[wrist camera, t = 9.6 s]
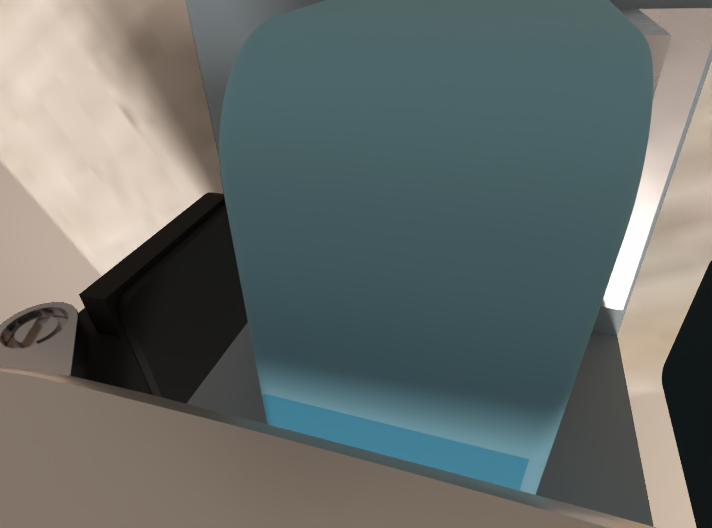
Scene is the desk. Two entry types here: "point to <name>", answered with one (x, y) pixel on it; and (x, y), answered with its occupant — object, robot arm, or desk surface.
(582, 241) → the data package
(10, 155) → the desk surface
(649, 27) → the bookend
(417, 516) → the robot arm
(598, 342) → the l-shaped stand
